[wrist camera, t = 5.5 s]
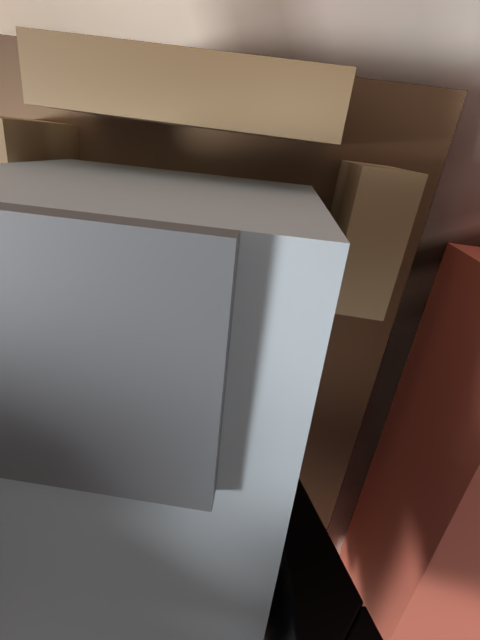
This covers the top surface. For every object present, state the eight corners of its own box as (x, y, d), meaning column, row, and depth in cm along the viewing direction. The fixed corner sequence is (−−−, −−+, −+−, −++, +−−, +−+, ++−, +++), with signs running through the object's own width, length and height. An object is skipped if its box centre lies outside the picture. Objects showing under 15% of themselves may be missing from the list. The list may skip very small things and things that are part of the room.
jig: (307, 566, 15) (313, 671, 12) (59, 520, 15) (5, 611, 12) (452, 95, 8) (547, 67, 5) (0, 40, 9) (-151, -15, 6)
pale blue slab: (248, 566, 13) (226, 821, 8) (102, 541, 13) (-5, 773, 8) (312, 185, 8) (355, 252, 3) (70, 159, 8) (-259, 179, 3)
